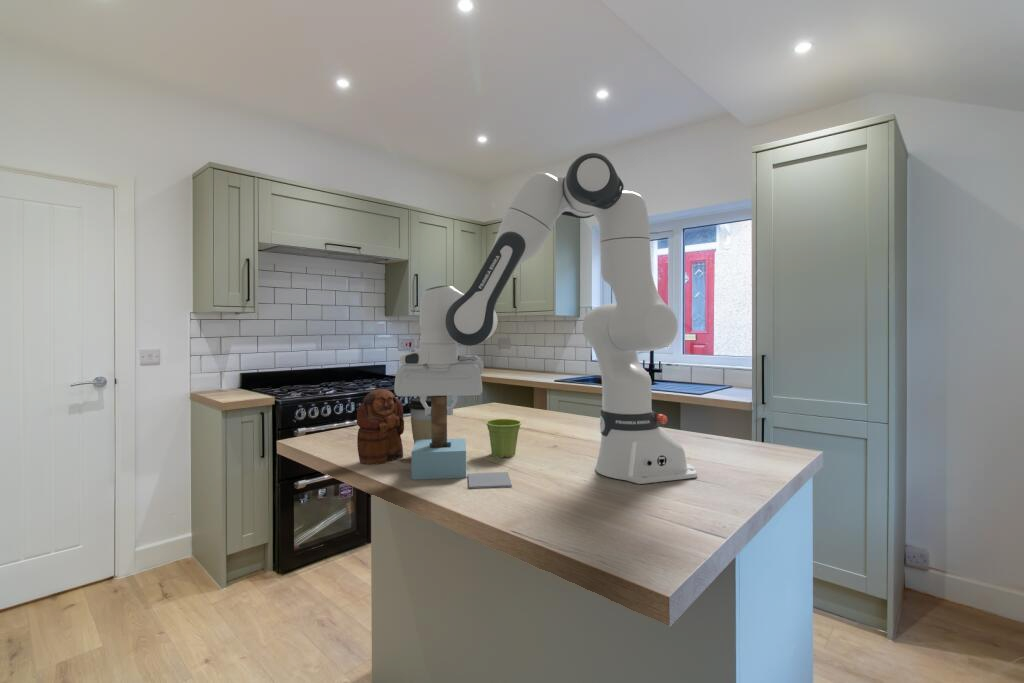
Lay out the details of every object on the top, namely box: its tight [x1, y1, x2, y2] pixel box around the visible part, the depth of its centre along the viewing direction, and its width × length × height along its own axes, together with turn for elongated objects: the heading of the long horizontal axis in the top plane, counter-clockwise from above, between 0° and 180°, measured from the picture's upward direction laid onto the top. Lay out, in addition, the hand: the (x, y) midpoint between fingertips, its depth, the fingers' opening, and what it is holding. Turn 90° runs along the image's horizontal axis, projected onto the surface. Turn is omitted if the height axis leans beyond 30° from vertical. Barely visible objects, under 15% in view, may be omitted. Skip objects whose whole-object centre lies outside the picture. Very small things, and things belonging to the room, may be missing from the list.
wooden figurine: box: [356, 388, 405, 465], centre depth 123 cm, size 12×6×18 cm, turn 142°
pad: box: [467, 471, 513, 489], centre depth 106 cm, size 9×9×1 cm
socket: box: [410, 438, 467, 480], centre depth 113 cm, size 12×12×6 cm
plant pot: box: [485, 418, 522, 458], centre depth 127 cm, size 9×9×9 cm
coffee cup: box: [407, 396, 432, 446], centre depth 126 cm, size 9×9×15 cm
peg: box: [430, 396, 448, 448], centre depth 113 cm, size 4×4×12 cm
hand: (439, 414), depth 113 cm, fingers closed on peg, 4 cm apart
